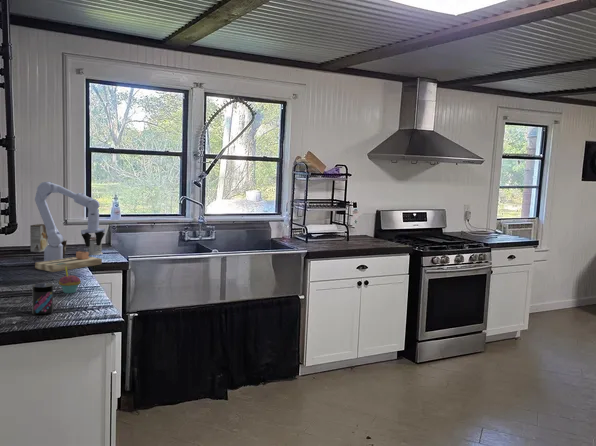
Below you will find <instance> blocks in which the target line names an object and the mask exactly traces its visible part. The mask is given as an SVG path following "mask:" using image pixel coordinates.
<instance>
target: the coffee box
mask: <svg viewBox="0 0 596 446" xmlns="http://www.w3.org/2000/svg"><path fill="white" fill-rule="evenodd" d="M29 232H30V234H29V235H30V241H29V242H30V253H31V252H33V253H42V252H44V250H45V248H46V247H47V246H48V245H49V244H48V236H47V230H46V227H45V225H44V223H41V224H40V223H37V224H32V225H30V231H29Z"/></svg>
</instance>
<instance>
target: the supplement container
mask: <svg viewBox="0 0 596 446" xmlns="http://www.w3.org/2000/svg"><path fill="white" fill-rule="evenodd" d="M31 289H32V290H31V292H32V299H31V300H32V304H31V305H32V308H31V309H32V311H31V312H32V314H33V315H34V316H37V317H39V316H40V317H42V316H49V315H52V313H53V311H54V284H53V283H47V282H46V283H45V282H41V283H35V284H33V285H32V288H31Z"/></svg>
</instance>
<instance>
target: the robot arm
mask: <svg viewBox="0 0 596 446" xmlns="http://www.w3.org/2000/svg"><path fill="white" fill-rule="evenodd" d="M53 193H54V194H57V193H58V194H61V195H63V196H66V197H68V198H70V199H73V201H74V203H76V204H77V205H81V206H82V207H84V208H87V210H88V212H87V229H81V230H80V234H81V237H82V238H83V242H84V241H85V242H84V245H85V247H87V248H88V247H90V240H91V239H90V238H91V237H92V234H94V236H95V237H96V243H95V244H97V245H96V246H98V245H100V244H101V240H103V238H104V236H105V233H106V228H100V209H99V208H100V207H101V206H100V201H98V200H97V199H95V198H93V197H92V196H91V197H89V196H87V195H86V194H85V193H84V192H78V193H76V192H73V191H72V190H70V189H68V188H66V187H64V186H62V185H60V184H57V183H53V182H52V181H43V182H41V183H39V185H38V186H37V187H36V193H35V197H34V202H35V204H36V206H37V209H38V211H39V215H40V217H41V219H42V222H43V224H44V225H45V227H46V230H47V236H48V246H47V247H46V248H45V250H44V251H43V261H50V260H58V259H64V258H63V245H62V244H61V243H62V242H63V240H64V236H63V234H61V233H60V231H59V229H58V227H57V225H56V224H55V220H54V218H53V216H52V212H51V211H50V208H49V204H48V202H47V199H48V198H49V196H50V195H51V194H53ZM95 231H97V232H95Z"/></svg>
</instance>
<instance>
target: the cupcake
mask: <svg viewBox="0 0 596 446" xmlns="http://www.w3.org/2000/svg"><path fill="white" fill-rule="evenodd" d="M64 271H65V275H64V276H62V277H60V278H59V280H58V284H59V286H61V288H62V292H63V293H64V294H74V293H77V290H78V289H77V288H78V286H79V285H80V284H81V283H82V282H81V279H80V277H78V276H77V275H69V273H68V270H67V266H66V265H65V270H64Z"/></svg>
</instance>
